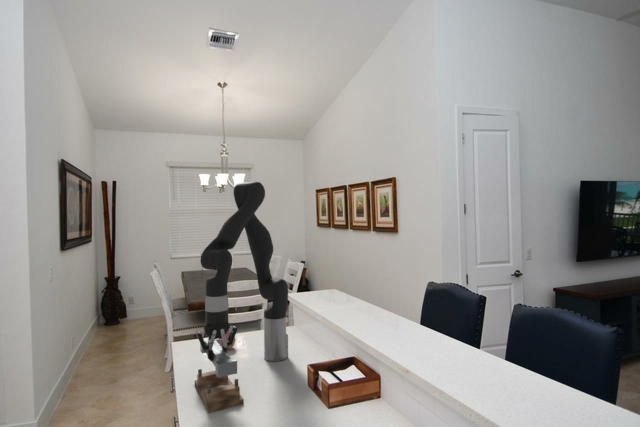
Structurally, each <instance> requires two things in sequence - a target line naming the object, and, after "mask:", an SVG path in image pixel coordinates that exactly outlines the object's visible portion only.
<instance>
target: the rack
mask: <svg viewBox="0 0 640 427" xmlns="http://www.w3.org/2000/svg"><path fill="white" fill-rule="evenodd" d="M197 373H198V374H197V375H196V376H197V379H196V380H194V386H195V388H196V390H197V393H198V394H199V396H200V399H201V401H202V403H203V404H204V407H205V409H206V411H207V413H208V414H210V413H214V412H218V411H221V410H225V409H229V408H232V407H236V406H241V405H244V402H245V401H244V397H243V396H242V395H241V389H240V385H239V378H234V383H232V381H231V379H230V378H229V375H228V376H223V377H219V378H218V377H217V376H216V373H215V370H211V371H206V372H203V369H201V368H200V369H198V370H197Z"/></svg>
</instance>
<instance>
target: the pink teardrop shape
mask: <svg viewBox="0 0 640 427" xmlns="http://www.w3.org/2000/svg"><path fill="white" fill-rule="evenodd" d="M229 330H230V329H229ZM229 330H228V331H227V333H226V335H225V337H226V341H227V340H228V337H229V334H230V331H229ZM218 339H219V338H218ZM235 343H236V336H235V337H234V340H233V343H232V345H229V346H227V350H229V349H230V348H233V347H234V346H235ZM219 345H220V346H221V347H222V342H221V339H219Z"/></svg>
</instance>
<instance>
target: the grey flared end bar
mask: <svg viewBox="0 0 640 427" xmlns="http://www.w3.org/2000/svg"><path fill="white" fill-rule="evenodd" d="M203 339H204V342H205V344H208V338H203ZM199 344H200V343H199ZM199 347H200V352H201V354H206V356H208V350H207V349H205V350H204V349H203V347H202V346H201V344H200V346H199ZM212 350H213V361H211V363H212V364H213V365H214V367H215V368H214V369H215V370H214V371H215V373H216V376H217V377H218V378H219V377H223V376H228V377H229V376H231V375H237V374H238V360H237V359H236V358H235V357H230V355H229V354H228V352H227V353H226V352H225V351H224V350H223V349H222V347H221V346H220V345H219V339H215V340H214V343H213V347H212Z"/></svg>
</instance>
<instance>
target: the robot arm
mask: <svg viewBox="0 0 640 427" xmlns="http://www.w3.org/2000/svg"><path fill="white" fill-rule="evenodd" d="M233 197H234V202H235V204H236V207H237V210H236V211H235V212H234V213H233V214H232V215H230V217H229V218H227V220H225V221H224V223H223V225H222V227H221V228H220V230H219V231H218V232H219V233H218V234H217V236H216V237H215V238H214V239H212V240H211V242H210V243H209V244H208V245H207V246H206V247H205V248H204V250H202V253H201V255H200V261H199V262H200V265H201V267H202V268H204V269H205V270H207V271H208V270H209V271H212V270H213V271H216V274H215V276H211V277H208V278H207V279H206V281H205V302H204V304H205V305H204V307H205V309H204V314H205V316H204V318H205V323H204V327H203V329H202V330H200V331H196V333H195V335H196V337H197V339H198V341H199V344H201V346H202V347H203V349H204V350H205V349H207V350H208V355H207V359H208V360H209V362H212V361H213V350H212V347H213V343H214V340H215V339H218V338H219V339H221V342H222V349H223V350H224V351H225V352H226V353H227V354H228V349H227V346H229V345H232V343H233V340H234V337H235V338H236V334H237V332H238V328H237V327H236V326H235V325H230V322H229V306H230V304H229V297H228V296H229V294H228V281H229V279H230V278H229V277H230V273H231V269H232V267H233V255H232V253H231V251H229V250H232V249H234V247H235V246H236V244H237V242H238V240H239V238H240V236H241V235H242V233H243V231H244V229H245V234H246V237H247V243H248V247H249V249H250V252H251V257H252V259H253V263H254V268H255V272H256V273H255V274H256V278H257V285H258V290H259V293H260V296H261V297H262V298H263V299H264V300H268V301H272V304H271V307H268V308H266V309H264V312H263V335H264V336H263V338H264V339H263V343H264V344H263V346H264V347H263V349H264V351H263V352H264V354H263V355H264V356H263V357H264V360H266V361H267V362H279V361H283V360H285V359H287V358H289V335H288V334H287V312H288V311H287V310H288V307H289V306H288V304H289V299H288V298H289V286H288V283H287V280H286V279H285V280H284V278H283V279H282V278H276V277H273V276H272V273H271V269H270V264H271V259H272V257H273V255H274V244H273V240H272V236H271V234H270V231H269V230H268V229H267V227H266V226H265V225H264V224H263V223H262V222H261V220H260V219H258V217H257V216H256V214H255V213H256V212H257V210H259V207H261V205H262V204H263V202H264V200H265V197H266V188H265V187H264V185H263V183H261V182H259V181H247V182H240V183H237V184H235V186H234V188H233ZM229 329H230V330H229ZM228 330H229V331H230V334H229V337H228V340H227V341H226V337H225V335H226V333H227V331H228ZM205 334H206V335H207V336H208V338H207V339H208V344H205V342H204V339H205V338H204V337H205Z"/></svg>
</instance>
